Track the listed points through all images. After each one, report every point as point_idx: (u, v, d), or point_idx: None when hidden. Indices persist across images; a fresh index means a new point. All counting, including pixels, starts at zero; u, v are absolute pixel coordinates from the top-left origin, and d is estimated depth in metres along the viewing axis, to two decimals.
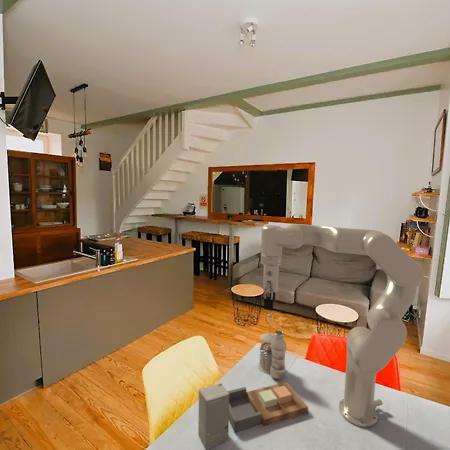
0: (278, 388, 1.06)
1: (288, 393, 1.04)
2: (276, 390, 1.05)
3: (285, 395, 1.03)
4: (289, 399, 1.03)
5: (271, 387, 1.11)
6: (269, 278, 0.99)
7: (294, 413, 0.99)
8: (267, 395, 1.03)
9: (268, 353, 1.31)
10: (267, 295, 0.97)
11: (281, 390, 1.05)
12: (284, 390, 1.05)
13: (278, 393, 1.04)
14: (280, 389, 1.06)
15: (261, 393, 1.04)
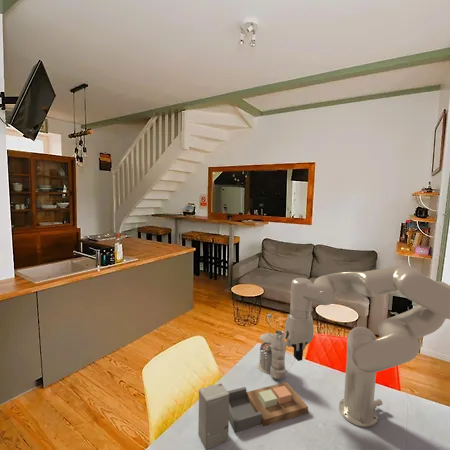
0: (278, 388, 1.06)
1: (288, 393, 1.04)
2: (276, 390, 1.05)
3: (285, 395, 1.03)
4: (289, 399, 1.03)
5: (271, 387, 1.11)
6: None
7: (294, 413, 0.99)
8: (267, 395, 1.03)
9: (268, 353, 1.31)
10: None
11: (281, 390, 1.05)
12: (284, 390, 1.05)
13: (278, 393, 1.04)
14: (280, 389, 1.06)
15: (261, 393, 1.04)
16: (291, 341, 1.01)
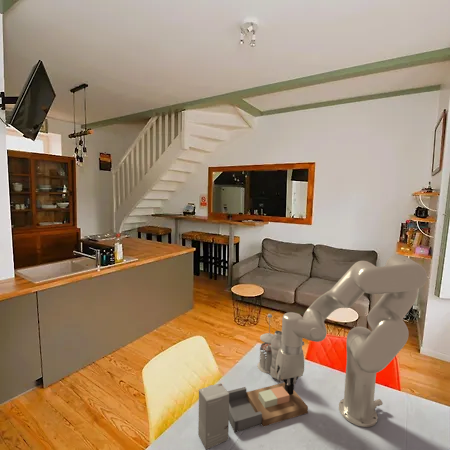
0: (276, 389, 1.06)
1: (286, 394, 1.04)
2: (274, 391, 1.05)
3: (282, 396, 1.02)
4: (287, 400, 1.03)
5: (271, 387, 1.11)
6: None
7: (294, 413, 0.99)
8: (267, 395, 1.03)
9: (268, 353, 1.31)
10: None
11: (278, 391, 1.05)
12: (282, 391, 1.05)
13: (275, 394, 1.03)
14: (278, 390, 1.06)
15: (261, 393, 1.04)
16: (282, 376, 1.02)
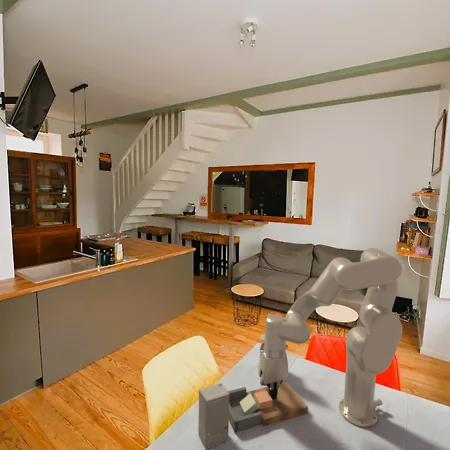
0: (259, 393, 1.04)
1: (269, 398, 1.01)
2: (257, 395, 1.03)
3: (265, 401, 1.00)
4: (270, 405, 1.01)
5: None
6: None
7: (294, 413, 0.99)
8: (247, 403, 1.00)
9: None
10: None
11: (261, 395, 1.03)
12: (265, 395, 1.03)
13: (258, 398, 1.01)
14: (261, 394, 1.03)
15: (241, 402, 1.02)
16: (264, 380, 0.99)
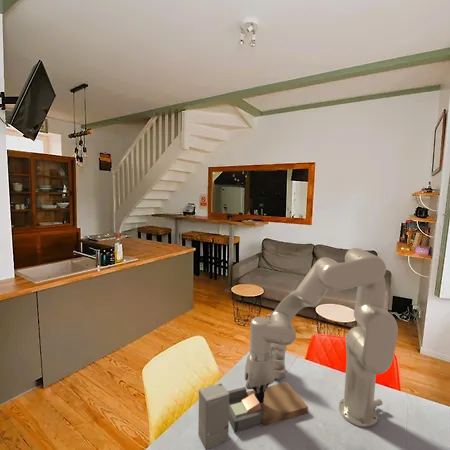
0: (247, 398, 1.02)
1: (256, 402, 0.99)
2: (244, 402, 1.01)
3: (252, 406, 0.98)
4: (258, 408, 0.99)
5: (271, 387, 1.11)
6: None
7: (294, 413, 0.99)
8: (237, 408, 0.99)
9: None
10: None
11: (249, 401, 1.01)
12: (252, 399, 1.01)
13: (246, 405, 0.99)
14: (248, 399, 1.01)
15: (231, 406, 1.00)
16: (250, 384, 0.98)
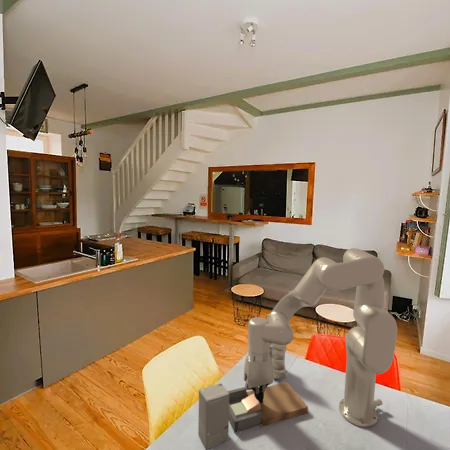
0: (247, 398, 1.02)
1: (256, 402, 0.99)
2: (244, 402, 1.01)
3: (252, 406, 0.98)
4: (258, 408, 0.99)
5: (271, 387, 1.11)
6: None
7: (294, 413, 0.99)
8: (237, 408, 0.99)
9: None
10: None
11: (249, 401, 1.01)
12: (252, 399, 1.01)
13: (246, 405, 0.99)
14: (248, 399, 1.01)
15: (231, 406, 1.00)
16: (249, 385, 0.97)
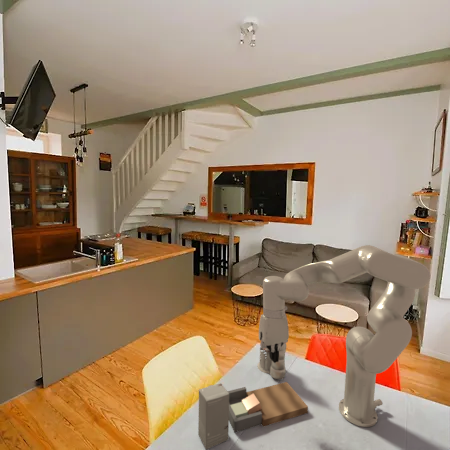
0: (247, 398, 1.02)
1: (256, 402, 0.99)
2: (244, 401, 1.01)
3: (252, 406, 0.98)
4: (258, 408, 0.99)
5: (271, 387, 1.11)
6: None
7: (294, 413, 0.99)
8: (237, 408, 0.99)
9: (268, 353, 1.31)
10: None
11: (249, 401, 1.01)
12: (252, 399, 1.01)
13: (246, 405, 0.99)
14: (248, 399, 1.01)
15: (231, 406, 1.00)
16: (265, 342, 0.97)
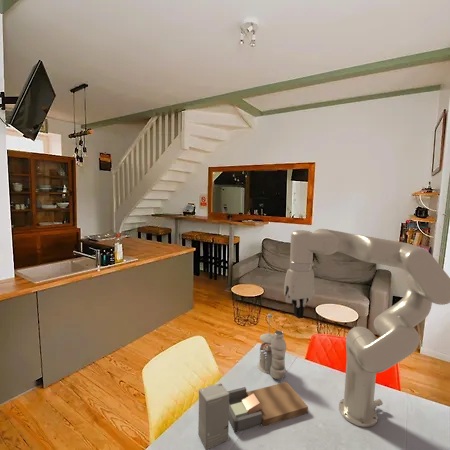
0: (247, 398, 1.02)
1: (256, 402, 0.99)
2: (244, 401, 1.01)
3: (252, 406, 0.98)
4: (258, 408, 0.99)
5: (271, 387, 1.11)
6: None
7: (294, 413, 0.99)
8: (237, 408, 0.99)
9: (268, 353, 1.31)
10: None
11: (249, 401, 1.01)
12: (252, 399, 1.01)
13: (246, 405, 0.99)
14: (248, 399, 1.01)
15: (231, 406, 1.00)
16: (291, 296, 0.95)
